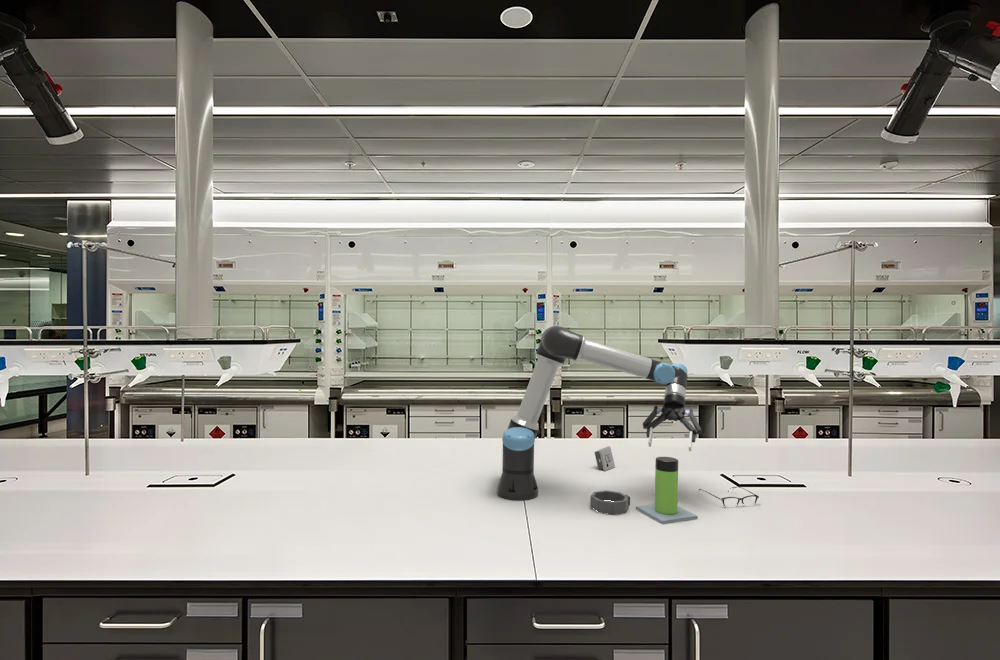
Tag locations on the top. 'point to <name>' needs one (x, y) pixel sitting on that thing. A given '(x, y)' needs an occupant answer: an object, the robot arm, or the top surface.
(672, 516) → the pad
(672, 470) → the green bottle
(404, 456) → the top surface
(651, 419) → the robot arm
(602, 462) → the electrical switch
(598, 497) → the strap ring
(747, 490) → the eyeglasses
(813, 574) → the top surface
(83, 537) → the top surface
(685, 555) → the top surface
